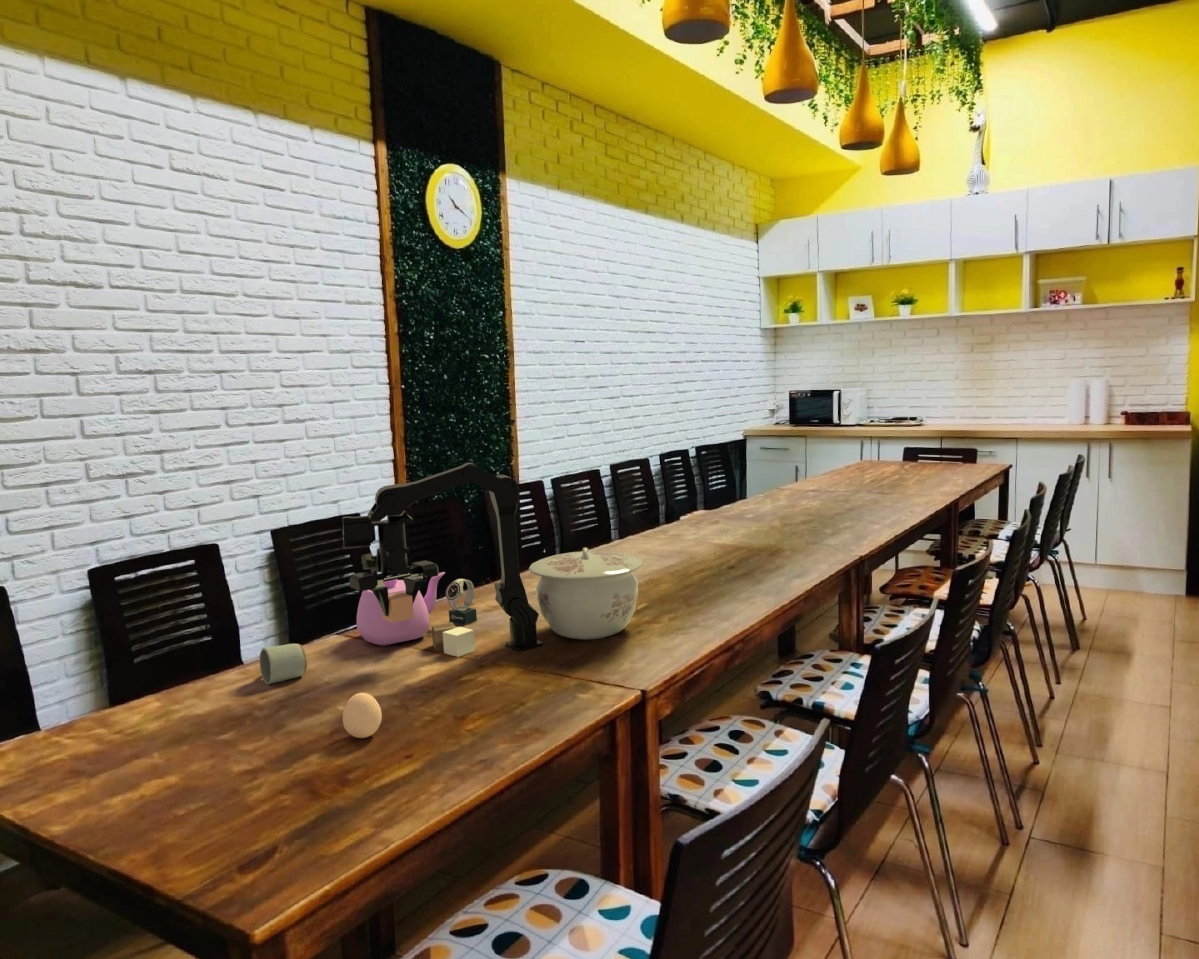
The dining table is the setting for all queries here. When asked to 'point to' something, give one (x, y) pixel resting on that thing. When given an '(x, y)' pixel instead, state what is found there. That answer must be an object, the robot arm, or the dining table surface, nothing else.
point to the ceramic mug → (282, 662)
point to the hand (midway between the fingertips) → (397, 613)
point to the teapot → (410, 629)
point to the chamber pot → (587, 592)
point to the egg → (362, 715)
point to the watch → (464, 613)
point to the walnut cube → (440, 634)
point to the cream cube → (458, 641)
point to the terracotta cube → (399, 607)
